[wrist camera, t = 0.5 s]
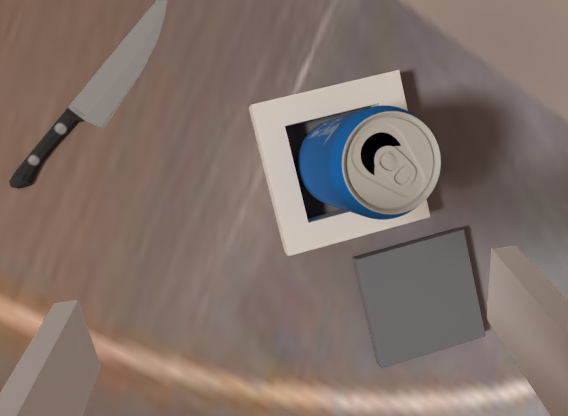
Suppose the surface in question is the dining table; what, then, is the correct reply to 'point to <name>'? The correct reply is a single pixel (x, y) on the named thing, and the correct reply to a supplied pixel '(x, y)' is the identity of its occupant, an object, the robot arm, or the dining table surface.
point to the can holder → (281, 168)
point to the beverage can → (371, 162)
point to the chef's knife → (100, 90)
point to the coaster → (419, 297)
